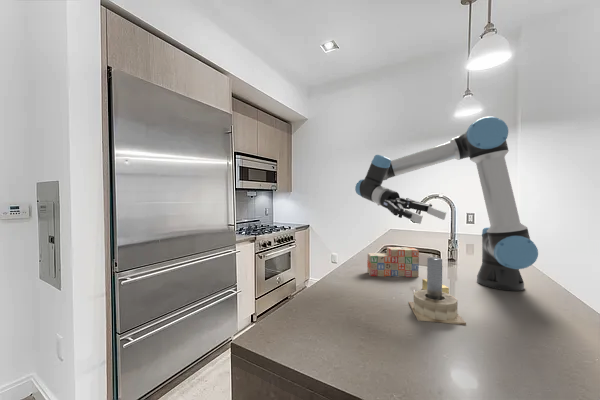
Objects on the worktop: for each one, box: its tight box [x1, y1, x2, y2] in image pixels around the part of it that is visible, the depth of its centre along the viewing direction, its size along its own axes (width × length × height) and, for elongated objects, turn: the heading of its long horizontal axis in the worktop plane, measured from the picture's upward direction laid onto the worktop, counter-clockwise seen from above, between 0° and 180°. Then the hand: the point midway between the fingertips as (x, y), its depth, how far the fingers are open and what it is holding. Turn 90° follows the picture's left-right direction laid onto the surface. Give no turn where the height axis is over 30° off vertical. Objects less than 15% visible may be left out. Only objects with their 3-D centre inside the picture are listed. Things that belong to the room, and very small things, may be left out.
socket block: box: [408, 289, 467, 326], centre depth 78 cm, size 12×12×5 cm
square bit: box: [421, 278, 450, 295], centre depth 95 cm, size 4×4×10 cm
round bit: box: [426, 256, 443, 300], centre depth 78 cm, size 4×4×16 cm
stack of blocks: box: [366, 246, 420, 278], centre depth 118 cm, size 21×6×12 cm, turn 87°
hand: (433, 218), depth 88 cm, fingers open, 13 cm apart
